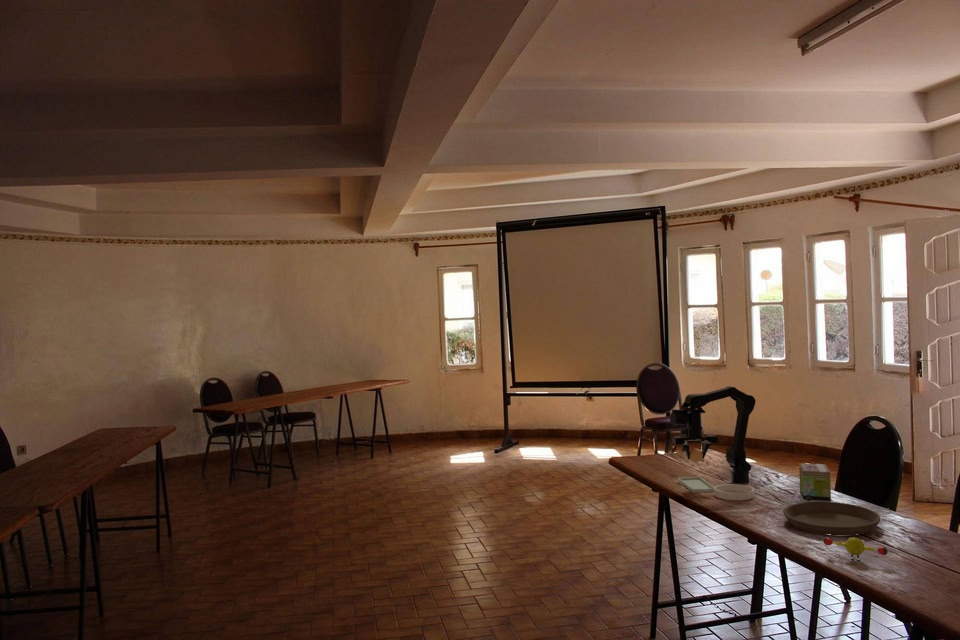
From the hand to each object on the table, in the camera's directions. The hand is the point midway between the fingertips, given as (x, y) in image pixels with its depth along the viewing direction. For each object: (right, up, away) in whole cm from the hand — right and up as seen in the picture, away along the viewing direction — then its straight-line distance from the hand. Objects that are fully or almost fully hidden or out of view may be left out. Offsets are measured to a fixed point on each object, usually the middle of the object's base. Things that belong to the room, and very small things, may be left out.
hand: (695, 459), depth 316 cm
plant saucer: (+30, -12, -59) cm, 68 cm away
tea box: (+37, -12, -33) cm, 51 cm away
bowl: (+11, -12, -18) cm, 24 cm away
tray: (0, -12, 0) cm, 12 cm away
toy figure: (+21, -13, -94) cm, 98 cm away
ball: (0, -1, 0) cm, 1 cm away
